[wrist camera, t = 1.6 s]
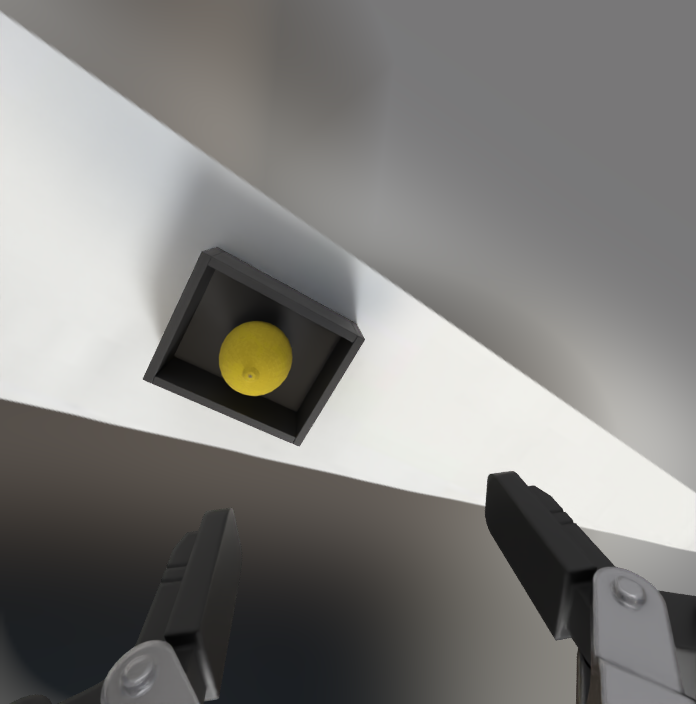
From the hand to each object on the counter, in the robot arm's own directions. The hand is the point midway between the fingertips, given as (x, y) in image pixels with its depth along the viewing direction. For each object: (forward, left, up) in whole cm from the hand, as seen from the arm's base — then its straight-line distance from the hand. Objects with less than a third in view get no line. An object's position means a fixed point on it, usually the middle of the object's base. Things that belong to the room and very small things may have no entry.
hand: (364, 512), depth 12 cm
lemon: (-4, -4, -23) cm, 24 cm away
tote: (-4, -4, -23) cm, 24 cm away
